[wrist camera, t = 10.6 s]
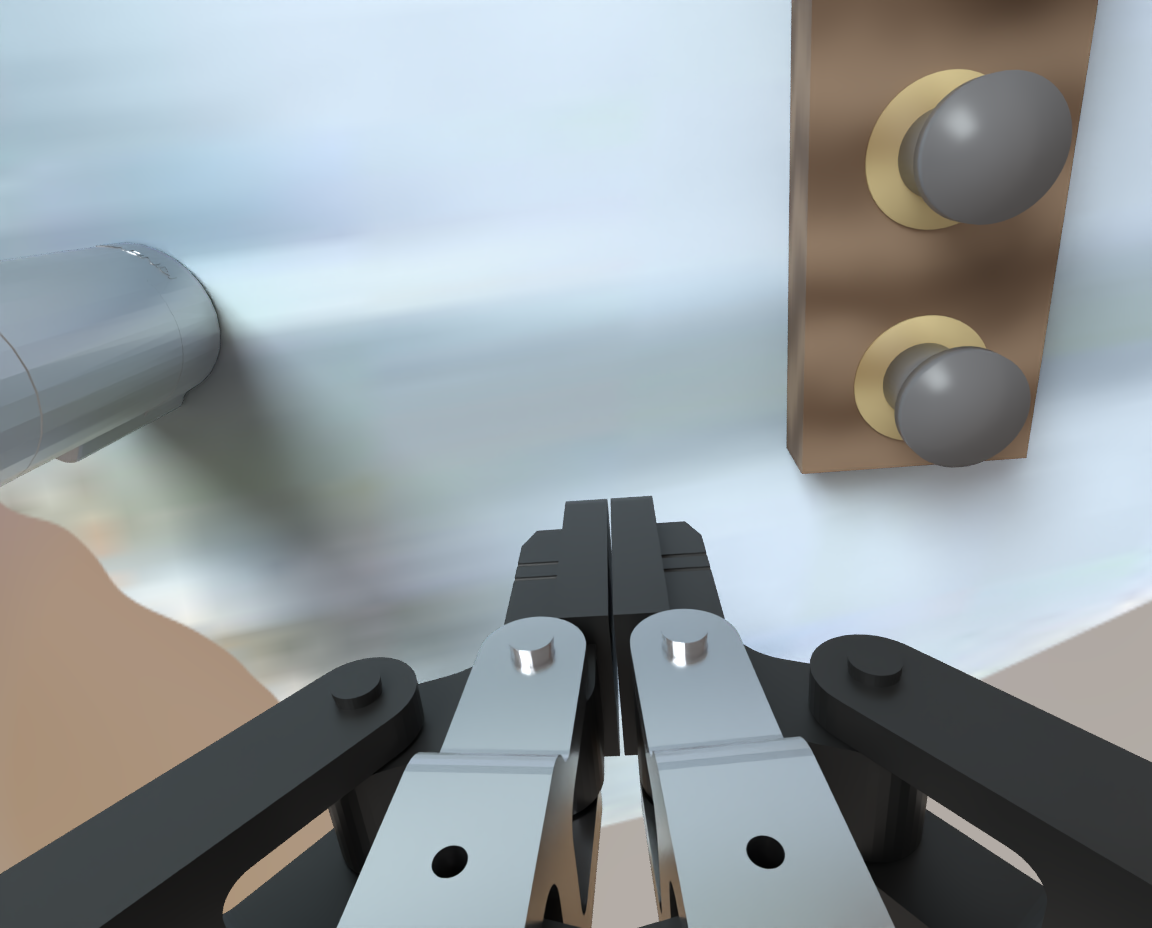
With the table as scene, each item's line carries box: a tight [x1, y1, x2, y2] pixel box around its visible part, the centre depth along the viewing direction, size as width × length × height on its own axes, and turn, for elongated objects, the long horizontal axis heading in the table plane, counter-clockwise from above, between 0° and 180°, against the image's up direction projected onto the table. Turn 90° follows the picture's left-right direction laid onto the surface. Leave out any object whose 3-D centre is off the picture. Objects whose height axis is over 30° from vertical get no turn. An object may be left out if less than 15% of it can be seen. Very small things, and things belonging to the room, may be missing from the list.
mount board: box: [787, 0, 1098, 474], centre depth 34 cm, size 32×12×4 cm, turn 6°
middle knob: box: [898, 70, 1072, 225], centre depth 30 cm, size 6×6×5 cm
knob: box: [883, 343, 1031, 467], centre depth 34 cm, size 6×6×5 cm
